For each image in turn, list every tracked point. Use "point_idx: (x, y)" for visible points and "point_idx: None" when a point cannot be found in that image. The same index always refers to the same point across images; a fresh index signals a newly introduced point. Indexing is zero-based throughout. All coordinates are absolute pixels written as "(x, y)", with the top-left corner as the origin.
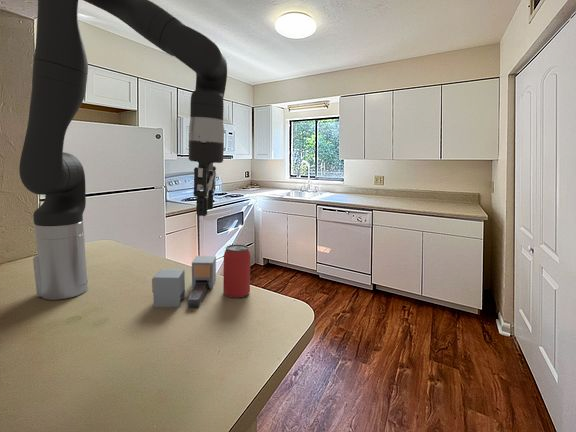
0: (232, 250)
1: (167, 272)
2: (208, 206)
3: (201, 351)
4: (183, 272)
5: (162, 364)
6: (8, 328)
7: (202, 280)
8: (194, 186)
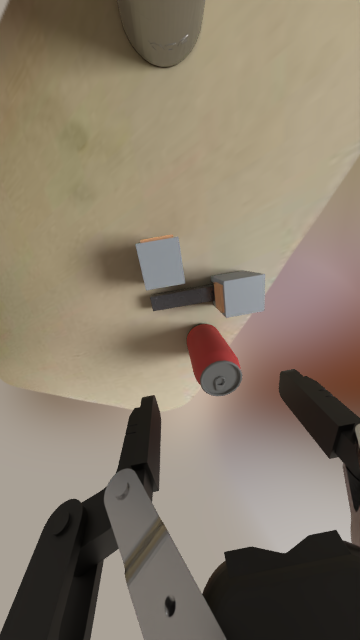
0: (201, 377)
1: (164, 259)
2: (286, 392)
3: (71, 341)
4: (177, 284)
5: (38, 317)
6: (7, 21)
7: None
8: (7, 622)
